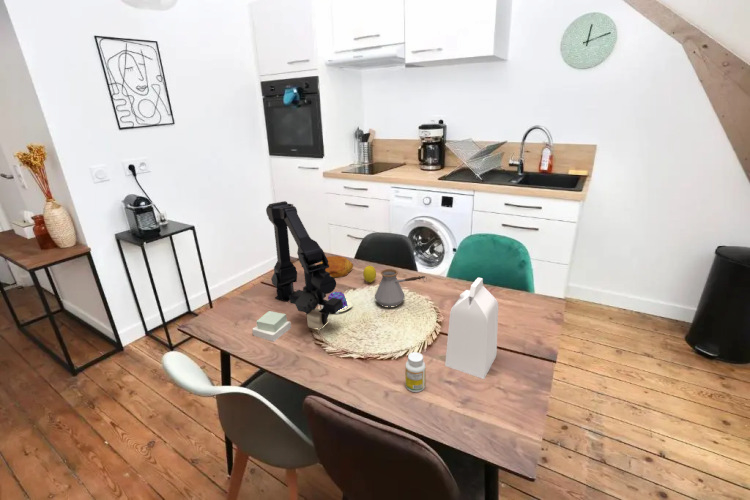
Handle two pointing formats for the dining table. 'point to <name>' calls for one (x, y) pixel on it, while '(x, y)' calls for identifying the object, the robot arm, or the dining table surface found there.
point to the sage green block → (271, 321)
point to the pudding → (338, 297)
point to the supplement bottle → (415, 372)
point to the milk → (473, 331)
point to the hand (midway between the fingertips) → (317, 322)
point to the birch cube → (315, 319)
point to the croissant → (338, 266)
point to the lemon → (369, 274)
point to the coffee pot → (391, 288)
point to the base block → (271, 335)
